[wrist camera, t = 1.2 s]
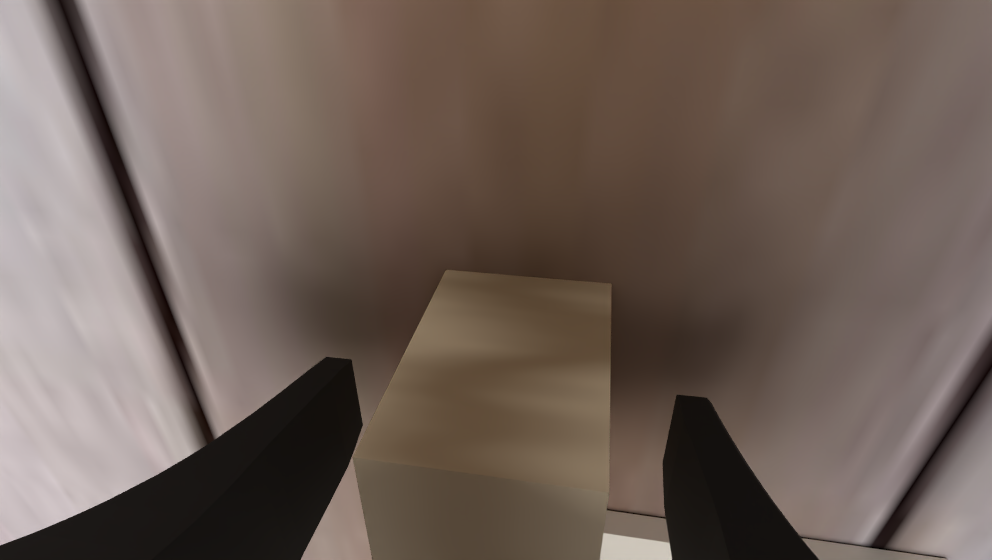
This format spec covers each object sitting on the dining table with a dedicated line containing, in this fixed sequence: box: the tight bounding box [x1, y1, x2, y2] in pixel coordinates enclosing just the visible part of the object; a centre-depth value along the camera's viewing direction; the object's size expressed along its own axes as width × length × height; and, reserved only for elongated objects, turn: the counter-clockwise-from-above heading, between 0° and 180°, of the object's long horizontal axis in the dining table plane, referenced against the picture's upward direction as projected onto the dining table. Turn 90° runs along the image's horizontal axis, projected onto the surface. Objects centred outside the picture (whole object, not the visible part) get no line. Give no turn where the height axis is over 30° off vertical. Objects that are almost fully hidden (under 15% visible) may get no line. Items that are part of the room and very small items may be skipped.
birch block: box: [353, 270, 611, 560], centre depth 12 cm, size 4×4×6 cm
